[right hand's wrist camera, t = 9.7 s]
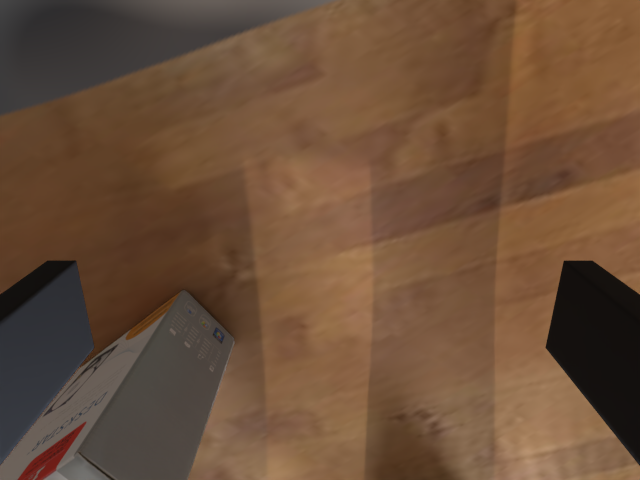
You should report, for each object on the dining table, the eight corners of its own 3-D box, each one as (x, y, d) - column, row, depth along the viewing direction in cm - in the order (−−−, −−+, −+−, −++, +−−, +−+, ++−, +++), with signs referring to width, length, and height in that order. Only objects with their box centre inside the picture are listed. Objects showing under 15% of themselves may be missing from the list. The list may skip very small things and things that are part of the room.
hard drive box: (184, 284, 43) (81, 450, 25) (237, 338, 45) (181, 529, 27) (75, 368, 47) (-87, 570, 28) (130, 415, 49) (13, 630, 30)
